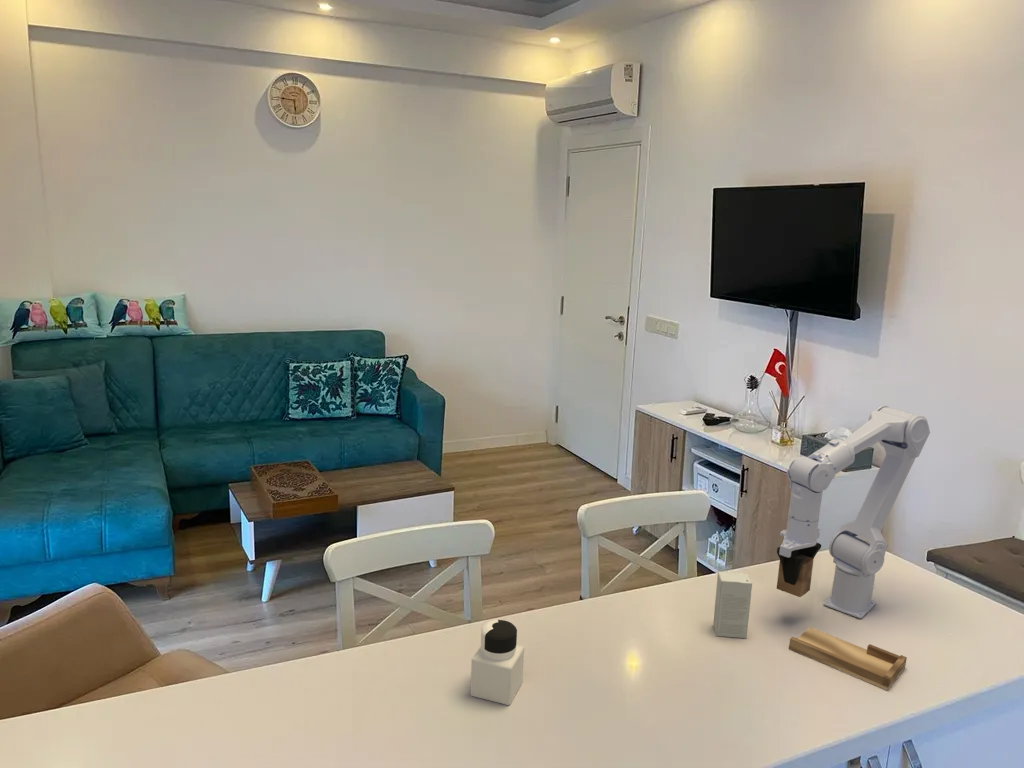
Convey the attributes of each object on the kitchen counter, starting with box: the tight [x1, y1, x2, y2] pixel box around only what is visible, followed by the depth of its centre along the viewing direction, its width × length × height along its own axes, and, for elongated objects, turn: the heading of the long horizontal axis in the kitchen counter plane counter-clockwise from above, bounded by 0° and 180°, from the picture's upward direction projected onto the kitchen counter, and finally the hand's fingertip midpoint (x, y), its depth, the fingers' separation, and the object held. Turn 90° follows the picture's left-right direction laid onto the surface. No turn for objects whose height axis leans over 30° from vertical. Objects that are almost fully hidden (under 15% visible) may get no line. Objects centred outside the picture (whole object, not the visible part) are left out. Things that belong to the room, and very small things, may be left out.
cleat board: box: [788, 626, 908, 691], centre depth 141 cm, size 10×18×2 cm, turn 47°
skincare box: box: [712, 571, 753, 639], centre depth 148 cm, size 6×4×12 cm
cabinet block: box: [776, 557, 815, 598], centre depth 152 cm, size 4×5×8 cm
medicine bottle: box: [470, 619, 525, 706], centre depth 127 cm, size 7×7×12 cm
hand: (795, 579), depth 152 cm, fingers closed on cabinet block, 4 cm apart
